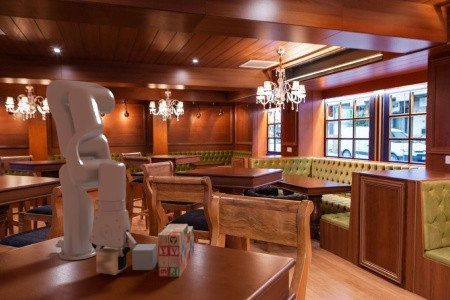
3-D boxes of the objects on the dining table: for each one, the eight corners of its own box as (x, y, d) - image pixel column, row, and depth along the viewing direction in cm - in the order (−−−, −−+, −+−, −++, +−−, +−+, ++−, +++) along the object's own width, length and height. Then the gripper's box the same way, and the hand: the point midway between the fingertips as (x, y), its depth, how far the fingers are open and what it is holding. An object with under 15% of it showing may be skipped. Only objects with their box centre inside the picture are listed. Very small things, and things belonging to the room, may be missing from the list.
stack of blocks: (176, 252, 119) (175, 217, 119) (194, 252, 118) (193, 217, 118) (158, 277, 98) (157, 234, 97) (179, 277, 97) (179, 234, 97)
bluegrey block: (132, 270, 103) (132, 250, 103) (137, 262, 109) (137, 244, 109) (152, 270, 103) (152, 250, 103) (156, 262, 109) (156, 244, 109)
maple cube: (96, 272, 97) (96, 251, 97) (109, 264, 103) (109, 244, 103) (115, 274, 96) (115, 253, 95) (126, 266, 102) (126, 246, 101)
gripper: (77, 205, 97) (77, 268, 98) (131, 210, 92) (131, 276, 93) (94, 200, 104) (94, 258, 105) (145, 204, 100) (145, 265, 101)
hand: (111, 266), depth 99 cm, fingers closed on maple cube, 6 cm apart
